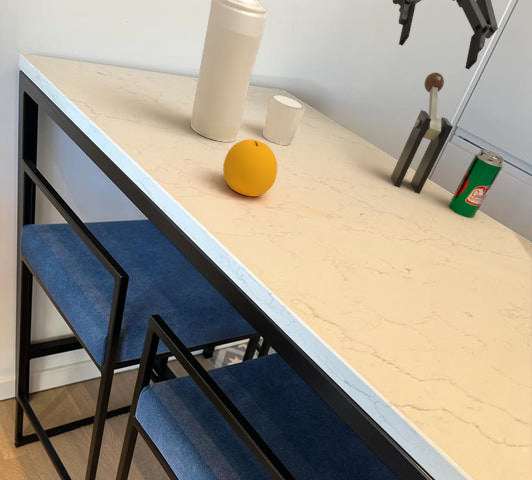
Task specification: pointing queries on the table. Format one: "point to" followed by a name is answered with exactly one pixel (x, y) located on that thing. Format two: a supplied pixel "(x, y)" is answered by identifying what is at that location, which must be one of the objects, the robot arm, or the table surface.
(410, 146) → the dark brown parallel bars
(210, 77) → the spray can
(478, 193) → the soda can
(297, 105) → the white cylinder
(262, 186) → the orange fruit
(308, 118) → the table surface
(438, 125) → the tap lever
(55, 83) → the table surface
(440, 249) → the table surface
